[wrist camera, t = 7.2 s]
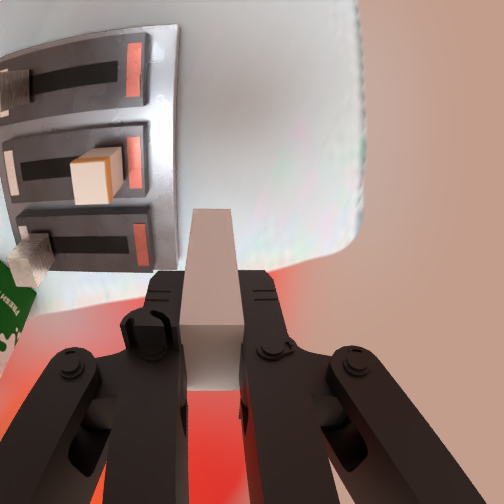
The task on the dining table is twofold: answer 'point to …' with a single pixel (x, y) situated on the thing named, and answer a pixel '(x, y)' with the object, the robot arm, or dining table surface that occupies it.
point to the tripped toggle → (97, 175)
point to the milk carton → (12, 313)
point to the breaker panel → (82, 140)
